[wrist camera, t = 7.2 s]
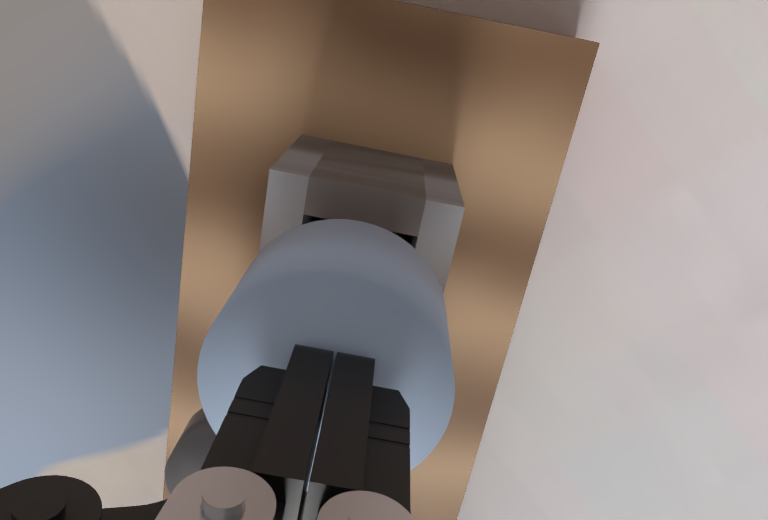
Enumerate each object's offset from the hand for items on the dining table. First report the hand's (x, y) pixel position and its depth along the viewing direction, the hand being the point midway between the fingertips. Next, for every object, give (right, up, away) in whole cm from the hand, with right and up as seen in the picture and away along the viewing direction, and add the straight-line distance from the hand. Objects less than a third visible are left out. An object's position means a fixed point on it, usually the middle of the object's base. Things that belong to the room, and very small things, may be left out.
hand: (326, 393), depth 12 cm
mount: (-1, -1, +15) cm, 15 cm away
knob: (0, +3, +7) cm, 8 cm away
